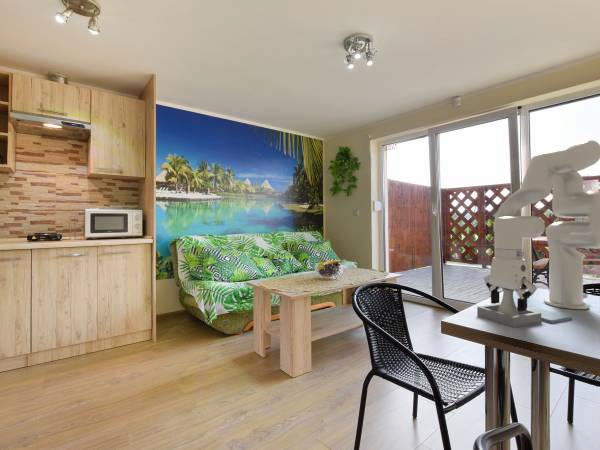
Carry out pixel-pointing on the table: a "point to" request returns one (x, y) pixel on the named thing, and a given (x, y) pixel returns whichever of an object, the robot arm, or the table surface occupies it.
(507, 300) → the flask
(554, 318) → the board
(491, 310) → the grey square tray
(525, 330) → the table surface
